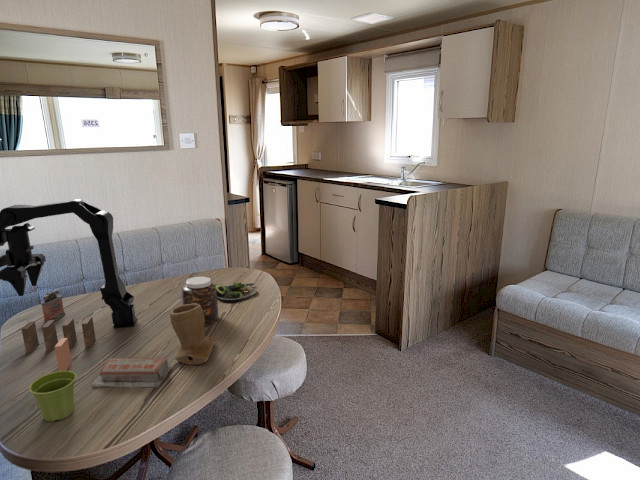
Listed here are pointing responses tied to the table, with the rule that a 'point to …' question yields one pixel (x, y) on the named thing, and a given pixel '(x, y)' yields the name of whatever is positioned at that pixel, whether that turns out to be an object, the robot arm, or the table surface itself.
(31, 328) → the domino
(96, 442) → the table surface
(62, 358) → the domino
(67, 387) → the plant pot
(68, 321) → the domino
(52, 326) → the domino
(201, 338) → the tan boot
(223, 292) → the salad plate
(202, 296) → the jar
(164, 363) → the packaged product
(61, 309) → the lighter
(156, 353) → the table surface
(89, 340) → the domino
